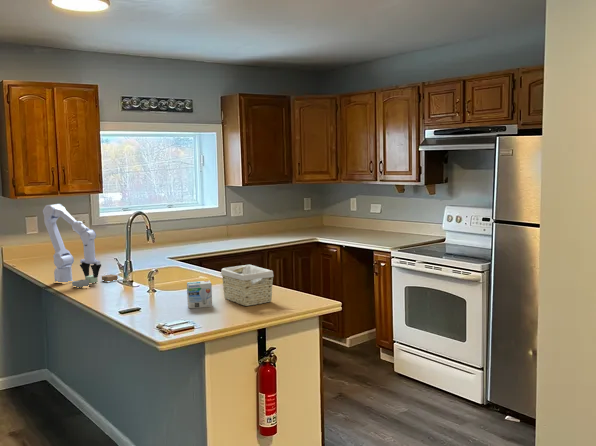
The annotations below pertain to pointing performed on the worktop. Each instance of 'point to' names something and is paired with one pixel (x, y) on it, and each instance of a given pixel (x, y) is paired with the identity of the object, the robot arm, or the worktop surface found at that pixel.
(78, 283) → the slate block
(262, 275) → the storage basket
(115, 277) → the walnut block
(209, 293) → the light bulb box
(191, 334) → the worktop surface
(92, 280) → the sage cube
